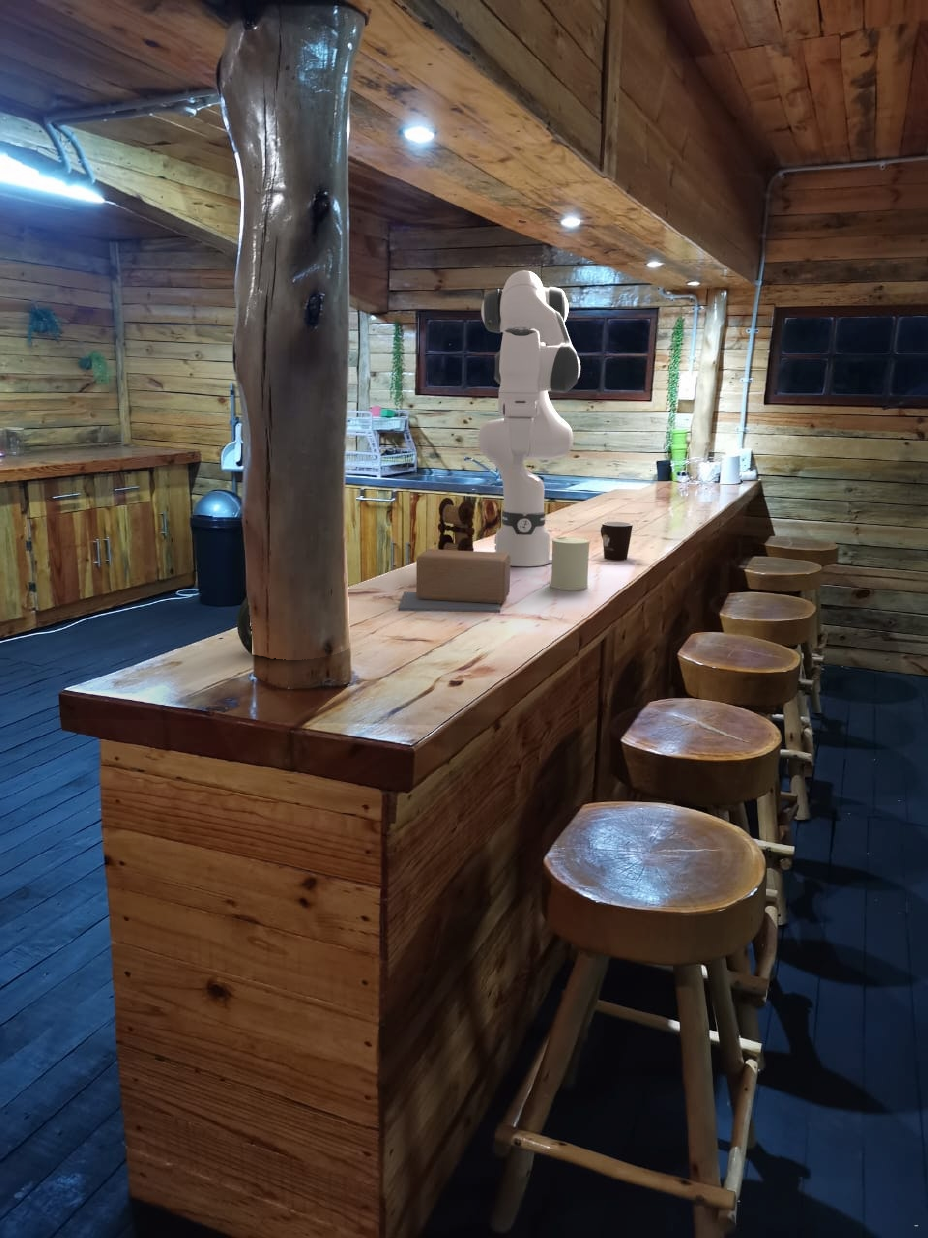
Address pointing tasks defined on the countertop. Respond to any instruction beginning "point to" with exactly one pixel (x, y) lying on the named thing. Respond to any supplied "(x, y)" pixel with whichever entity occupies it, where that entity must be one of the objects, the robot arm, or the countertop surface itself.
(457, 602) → the mat
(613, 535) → the coffee mug
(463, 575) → the block
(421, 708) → the countertop surface
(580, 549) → the can
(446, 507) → the wooden spool stand
